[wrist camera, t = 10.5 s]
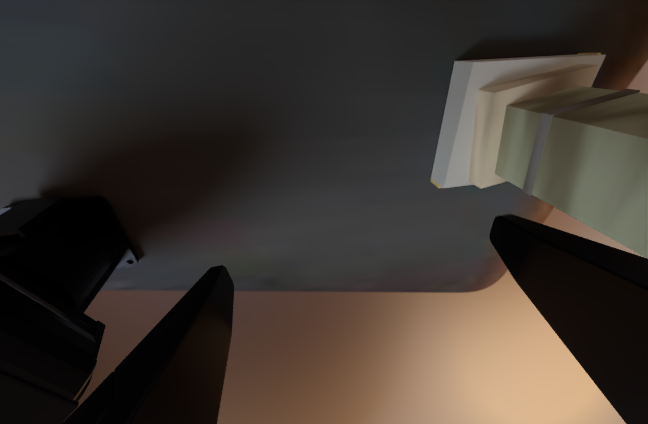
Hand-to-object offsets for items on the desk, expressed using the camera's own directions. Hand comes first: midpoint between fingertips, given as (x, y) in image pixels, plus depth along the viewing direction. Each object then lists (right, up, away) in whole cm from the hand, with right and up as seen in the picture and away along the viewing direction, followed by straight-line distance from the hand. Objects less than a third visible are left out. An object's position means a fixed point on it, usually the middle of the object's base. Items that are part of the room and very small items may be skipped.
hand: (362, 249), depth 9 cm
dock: (+13, +9, +13) cm, 20 cm away
